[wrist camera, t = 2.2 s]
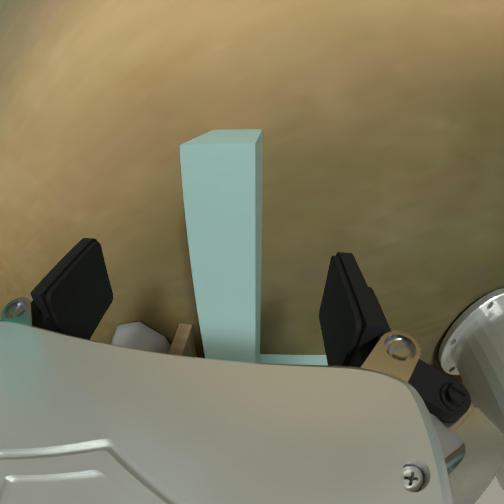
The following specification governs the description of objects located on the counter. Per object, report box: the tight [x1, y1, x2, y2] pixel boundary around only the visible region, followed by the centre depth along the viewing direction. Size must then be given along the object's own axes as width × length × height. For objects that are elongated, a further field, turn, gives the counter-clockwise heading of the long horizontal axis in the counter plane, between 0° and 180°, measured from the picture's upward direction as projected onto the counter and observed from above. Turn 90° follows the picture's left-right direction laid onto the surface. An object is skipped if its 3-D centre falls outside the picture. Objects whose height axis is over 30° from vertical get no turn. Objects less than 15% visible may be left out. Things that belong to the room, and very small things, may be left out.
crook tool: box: [180, 129, 328, 365], centre depth 20 cm, size 10×22×7 cm, turn 0°
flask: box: [111, 322, 171, 354], centre depth 24 cm, size 7×7×10 cm
